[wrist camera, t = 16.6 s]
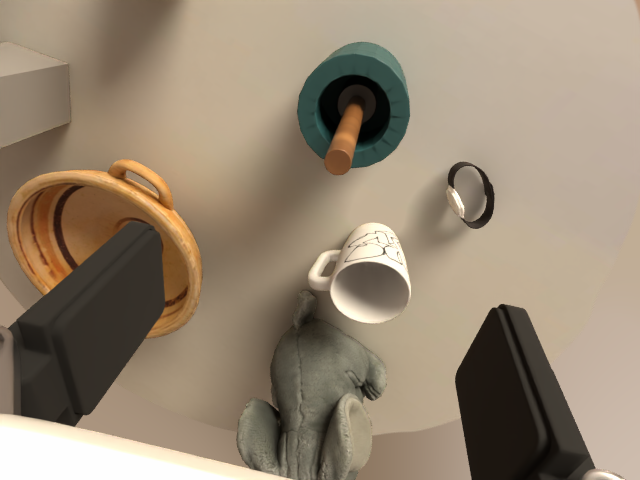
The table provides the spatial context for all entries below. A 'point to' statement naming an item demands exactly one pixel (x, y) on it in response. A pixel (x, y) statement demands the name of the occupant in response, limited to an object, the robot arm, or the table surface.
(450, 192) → the watch
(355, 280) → the mug
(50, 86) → the perfume bottle
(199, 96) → the table surface
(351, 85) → the brush
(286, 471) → the stuffed elephant
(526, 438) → the robot arm
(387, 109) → the teal hollow cylinder
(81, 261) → the ceramic bowl
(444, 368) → the table surface
